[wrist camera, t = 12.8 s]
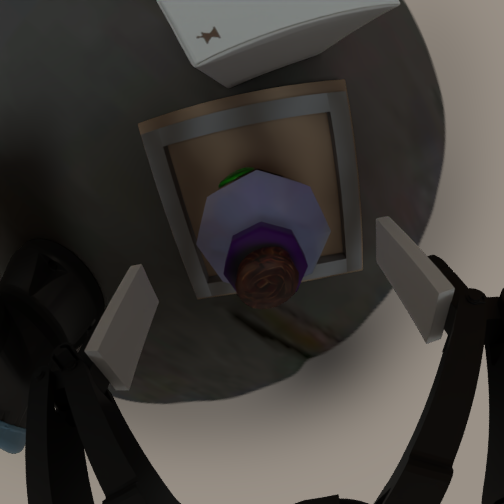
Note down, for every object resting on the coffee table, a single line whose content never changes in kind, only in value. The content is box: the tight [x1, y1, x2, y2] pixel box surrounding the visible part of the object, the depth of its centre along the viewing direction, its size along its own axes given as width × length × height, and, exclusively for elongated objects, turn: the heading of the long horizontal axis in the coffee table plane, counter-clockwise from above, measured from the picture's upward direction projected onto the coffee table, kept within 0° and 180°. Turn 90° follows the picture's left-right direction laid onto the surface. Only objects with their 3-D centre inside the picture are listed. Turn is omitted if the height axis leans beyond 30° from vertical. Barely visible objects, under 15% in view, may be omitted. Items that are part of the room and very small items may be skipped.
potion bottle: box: [196, 167, 331, 309], centre depth 19 cm, size 9×9×12 cm
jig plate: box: [138, 79, 363, 299], centre depth 25 cm, size 17×18×3 cm
